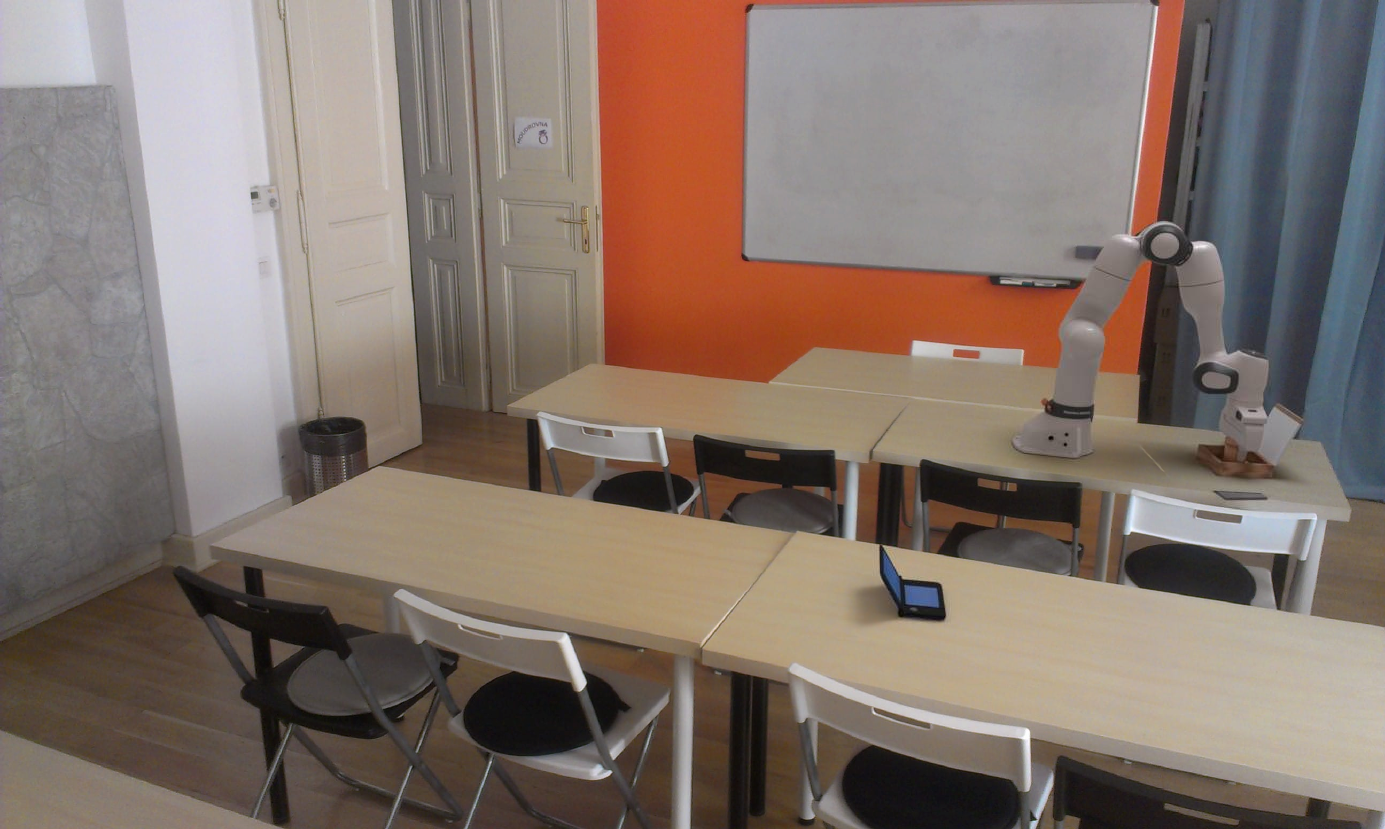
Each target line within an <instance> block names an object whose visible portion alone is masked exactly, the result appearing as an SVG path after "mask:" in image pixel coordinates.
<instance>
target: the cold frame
mask: <svg viewBox="0 0 1385 829" xmlns="http://www.w3.org/2000/svg"><path fill="white" fill-rule="evenodd" d="M1224 450H1225V444H1223V445H1221V444H1208V443H1207V444H1205V443H1202V444H1201V443H1198V447H1197V452H1196V457H1197V458H1198V460H1200V462H1202V463H1203V464H1204V465H1205V466H1206V467H1207V468H1208V469H1209V470H1210V471H1211V472H1213V474H1214V475H1216V476H1217V477H1233V478H1234V477H1236V478H1253V479H1269V480H1270V479H1271V480H1272V478H1273V473H1274V472H1273V471H1274V467H1275V466H1274V465H1273V464H1271V463H1270V462H1269V461H1268V460H1266V459H1265V458H1264V457H1263V456H1261V455H1260V454H1259V453H1258V452H1251V451H1248V452H1247V456H1246V462H1245V463H1237V462H1222V461H1223V455H1224Z"/></svg>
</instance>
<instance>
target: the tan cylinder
mask: <svg viewBox="0 0 1385 829" xmlns="http://www.w3.org/2000/svg"><path fill="white" fill-rule="evenodd" d="M1223 442H1224V445H1225V450H1224V455H1223V461H1222V462H1237V463H1245V462H1246V456H1247V454H1246V455H1245V459H1244V461H1243V462H1240V461H1237V460H1236V454H1238V452H1239V446H1238V445H1237V444H1236V443H1235V442H1234V441H1232V440H1231V439H1230V438H1229V437H1228V436H1227V437H1226V436H1225V437H1224V441H1223Z"/></svg>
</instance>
